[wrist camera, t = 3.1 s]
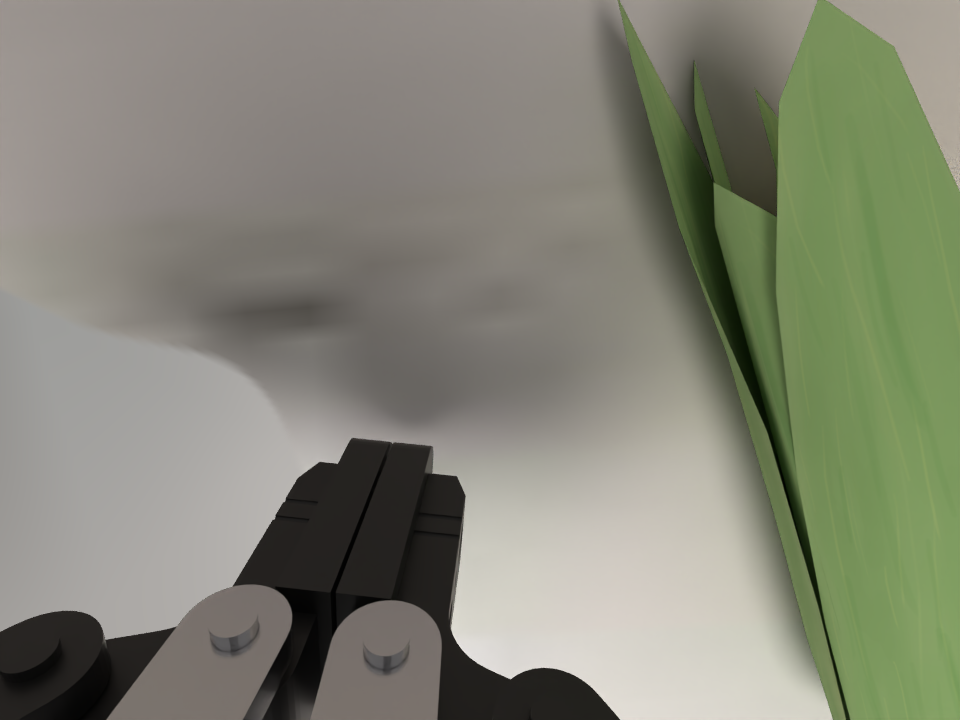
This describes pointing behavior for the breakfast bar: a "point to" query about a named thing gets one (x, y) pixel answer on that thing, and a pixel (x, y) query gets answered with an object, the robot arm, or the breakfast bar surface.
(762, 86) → the breakfast bar surface
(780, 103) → the edible corn
